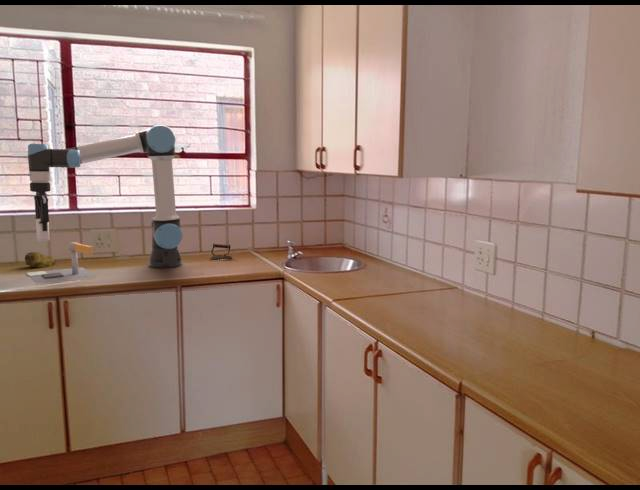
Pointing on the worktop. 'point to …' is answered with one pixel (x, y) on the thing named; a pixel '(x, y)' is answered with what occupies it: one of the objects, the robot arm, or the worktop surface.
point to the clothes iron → (216, 257)
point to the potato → (38, 260)
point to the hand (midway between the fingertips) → (43, 237)
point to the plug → (40, 231)
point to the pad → (36, 273)
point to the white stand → (64, 272)
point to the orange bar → (80, 248)
